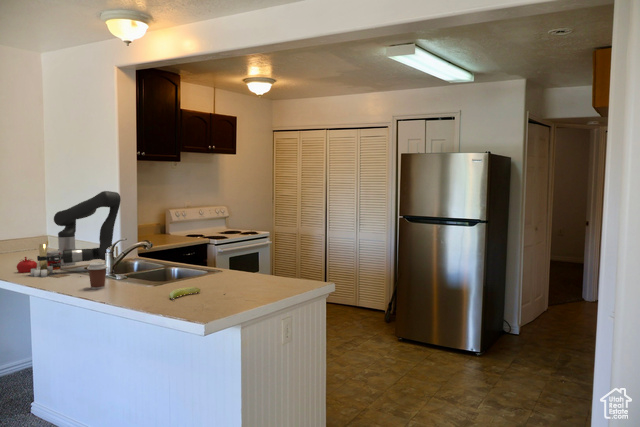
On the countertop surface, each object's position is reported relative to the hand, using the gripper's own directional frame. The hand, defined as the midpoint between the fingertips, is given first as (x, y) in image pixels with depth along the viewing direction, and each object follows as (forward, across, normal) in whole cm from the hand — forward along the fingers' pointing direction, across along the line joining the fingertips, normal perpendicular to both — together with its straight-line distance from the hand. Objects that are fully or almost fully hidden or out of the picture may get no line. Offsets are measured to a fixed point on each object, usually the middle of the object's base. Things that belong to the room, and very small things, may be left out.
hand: (37, 258), depth 270 cm
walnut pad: (-10, +8, +10) cm, 16 cm away
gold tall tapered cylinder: (-3, 0, +9) cm, 10 cm away
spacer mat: (-3, 0, +10) cm, 10 cm away
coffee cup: (-25, +44, +10) cm, 52 cm away
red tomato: (+5, -15, +10) cm, 19 cm away
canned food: (-8, -17, +10) cm, 21 cm away
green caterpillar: (-57, +83, +11) cm, 101 cm away
